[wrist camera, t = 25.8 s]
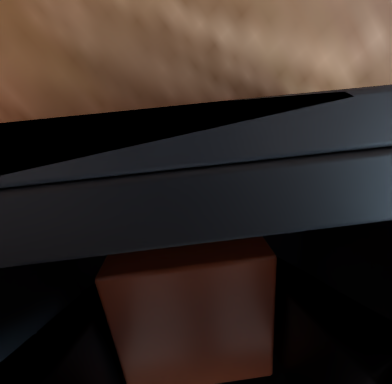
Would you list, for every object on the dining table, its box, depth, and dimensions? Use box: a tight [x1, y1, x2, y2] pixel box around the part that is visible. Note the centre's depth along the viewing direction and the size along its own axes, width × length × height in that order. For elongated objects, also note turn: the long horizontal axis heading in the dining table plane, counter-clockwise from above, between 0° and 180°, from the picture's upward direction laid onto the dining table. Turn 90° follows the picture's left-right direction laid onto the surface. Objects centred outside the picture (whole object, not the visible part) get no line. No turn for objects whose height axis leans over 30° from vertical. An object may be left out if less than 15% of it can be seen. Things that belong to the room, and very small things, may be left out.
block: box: [95, 236, 277, 384], centre depth 7 cm, size 4×4×4 cm
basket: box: [0, 85, 392, 384], centre depth 7 cm, size 8×13×10 cm
